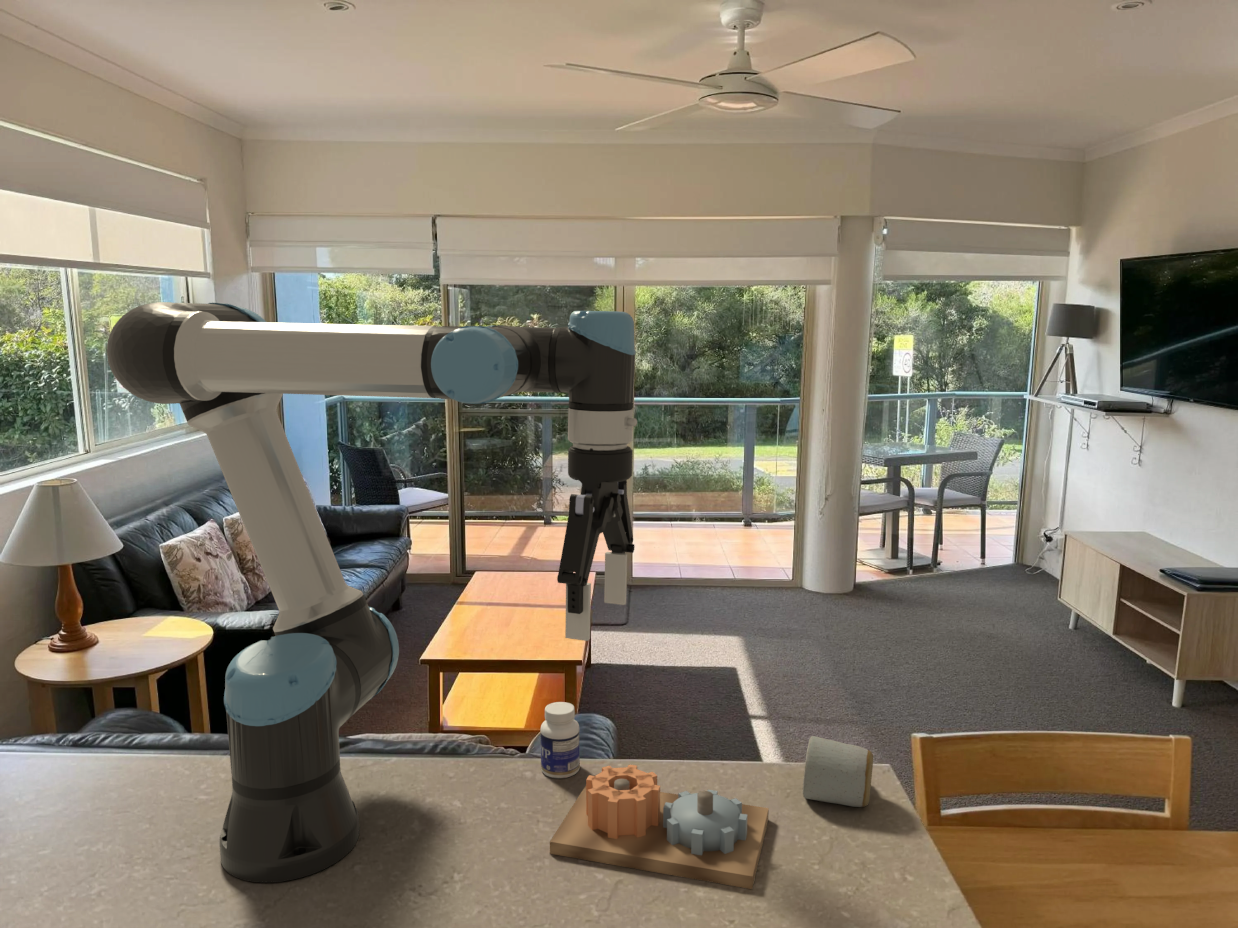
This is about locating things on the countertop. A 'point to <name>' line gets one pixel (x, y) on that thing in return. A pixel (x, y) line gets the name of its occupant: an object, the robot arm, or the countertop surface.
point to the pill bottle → (560, 741)
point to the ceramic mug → (837, 772)
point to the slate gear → (705, 823)
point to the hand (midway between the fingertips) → (597, 619)
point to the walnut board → (664, 845)
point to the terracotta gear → (623, 802)
